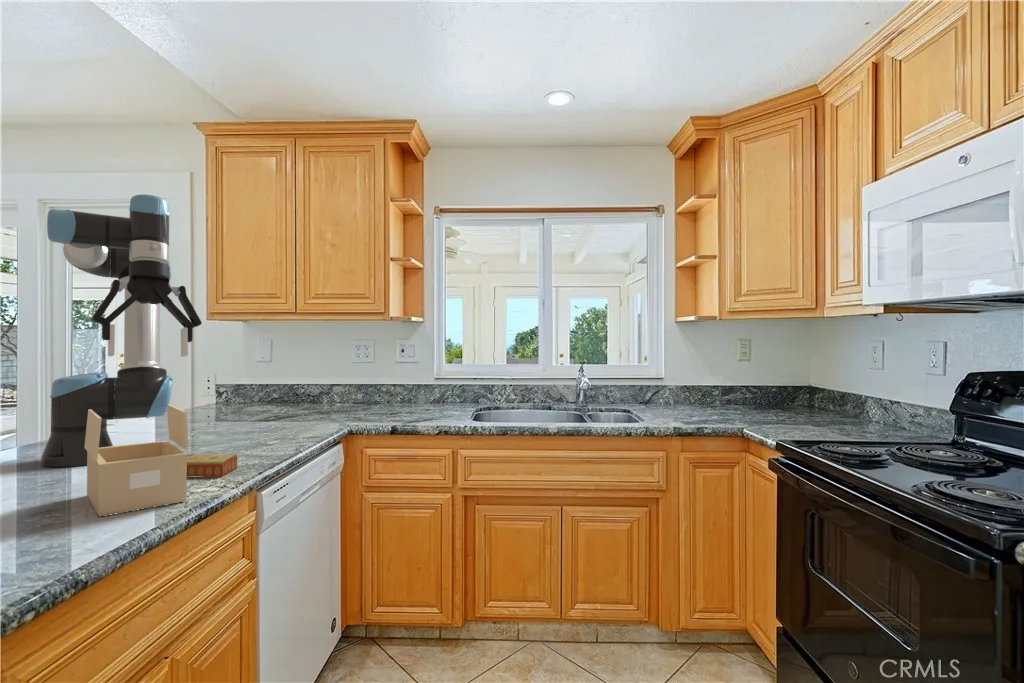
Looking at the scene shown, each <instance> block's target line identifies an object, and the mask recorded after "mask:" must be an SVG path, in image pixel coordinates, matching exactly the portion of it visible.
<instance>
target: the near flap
mask: <svg viewBox="0 0 1024 683" xmlns="http://www.w3.org/2000/svg"><path fill="white" fill-rule="evenodd" d="M101 420H102V418H101V417H100V416H98V415H97V414H96V413H95V412H94V411H93V410H91V409H88V417H87V427H86V437H85V447H84V448H85V449H86V450H87V452H88V453H89V454H90V456H91V457H92V458H93V460H94V461H96V460H98V450H99V440H100V430H101Z"/></svg>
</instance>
